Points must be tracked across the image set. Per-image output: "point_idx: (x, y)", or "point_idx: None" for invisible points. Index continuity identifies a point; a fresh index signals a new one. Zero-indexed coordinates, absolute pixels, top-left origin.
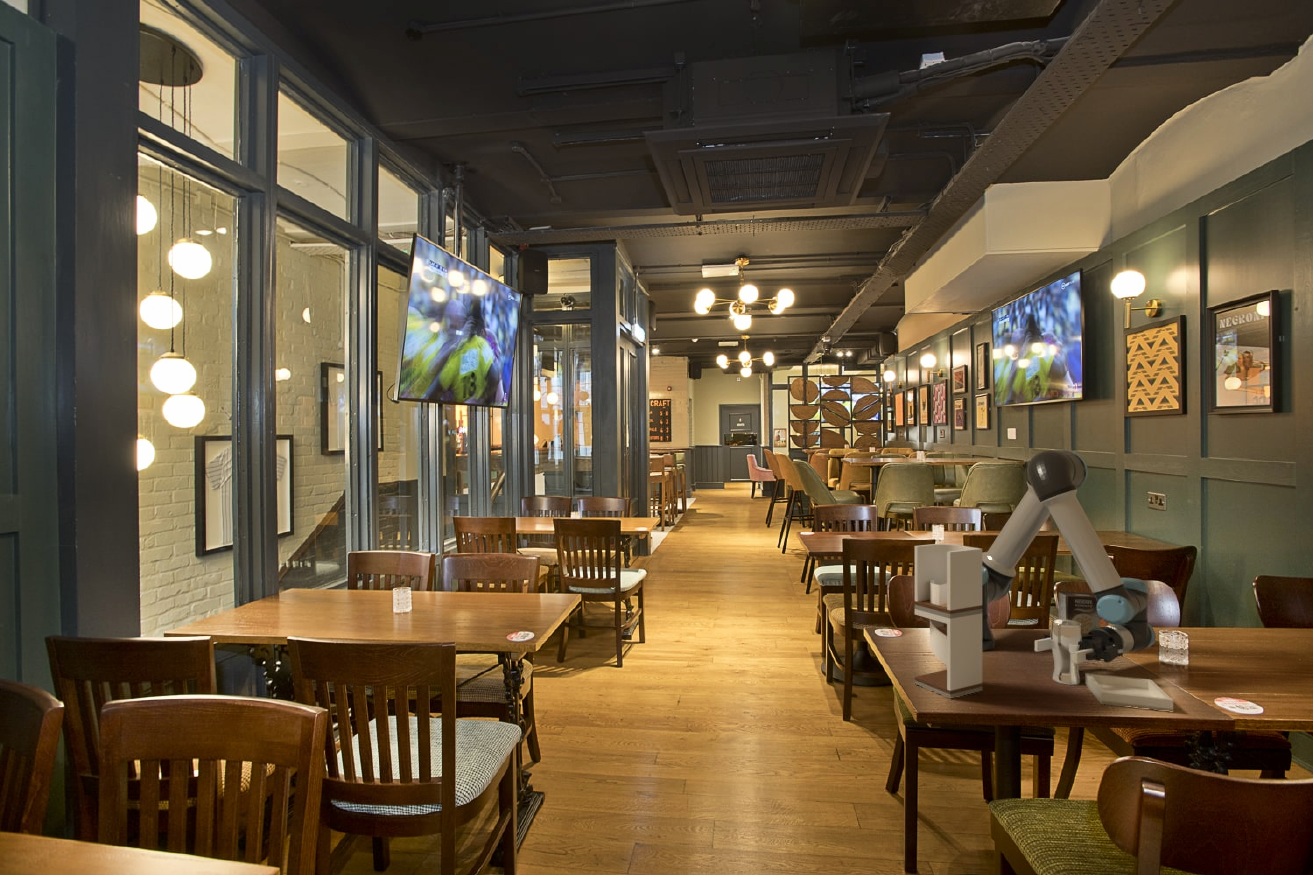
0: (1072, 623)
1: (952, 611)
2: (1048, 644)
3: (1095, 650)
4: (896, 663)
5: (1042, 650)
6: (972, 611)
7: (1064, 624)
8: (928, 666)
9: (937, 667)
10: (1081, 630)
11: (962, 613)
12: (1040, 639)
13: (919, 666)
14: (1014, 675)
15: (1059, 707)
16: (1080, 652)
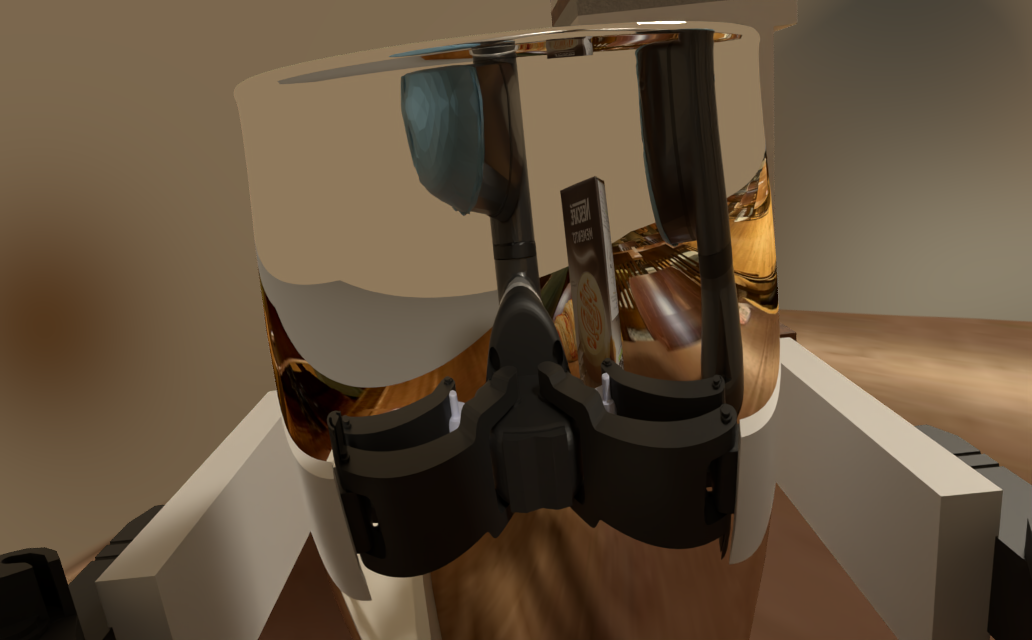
0: (539, 119)
1: (552, 16)
2: (851, 507)
3: (63, 605)
4: (1005, 326)
5: (792, 501)
6: (568, 10)
7: (702, 162)
8: (979, 369)
9: (967, 383)
10: (252, 217)
11: (559, 22)
12: (839, 374)
13: (971, 354)
14: (822, 580)
15: None
16: (248, 421)
